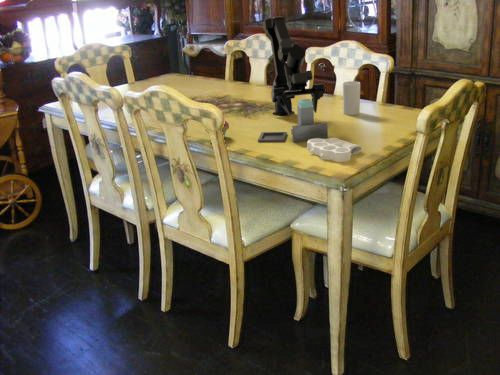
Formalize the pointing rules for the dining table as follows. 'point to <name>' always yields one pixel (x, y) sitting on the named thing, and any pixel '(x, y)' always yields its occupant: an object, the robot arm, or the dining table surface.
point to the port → (309, 132)
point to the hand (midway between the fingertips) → (303, 113)
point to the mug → (351, 98)
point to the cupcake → (224, 127)
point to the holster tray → (272, 137)
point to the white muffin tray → (333, 149)
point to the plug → (305, 112)
